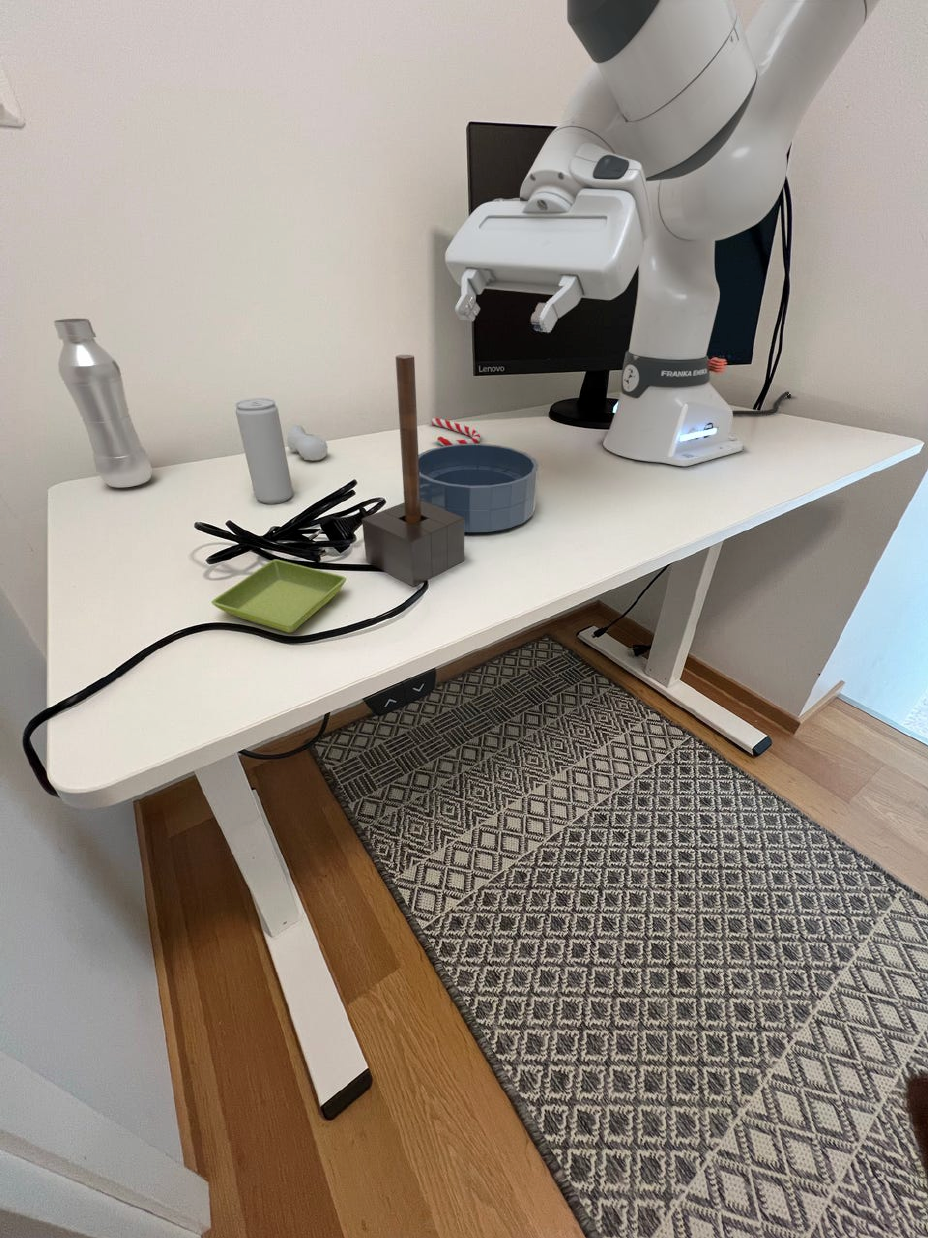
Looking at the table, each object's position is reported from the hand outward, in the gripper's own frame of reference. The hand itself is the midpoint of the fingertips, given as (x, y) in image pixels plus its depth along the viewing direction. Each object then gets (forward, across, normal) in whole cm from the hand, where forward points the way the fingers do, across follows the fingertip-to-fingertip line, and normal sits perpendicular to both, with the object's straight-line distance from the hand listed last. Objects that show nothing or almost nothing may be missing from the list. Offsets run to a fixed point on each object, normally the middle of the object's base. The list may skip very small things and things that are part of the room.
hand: (499, 321), depth 53 cm
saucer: (+34, -3, -3) cm, 34 cm away
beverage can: (+25, -26, +7) cm, 37 cm away
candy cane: (0, -28, +32) cm, 42 cm away
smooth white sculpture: (+15, -36, +16) cm, 43 cm away
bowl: (+14, -4, +17) cm, 22 cm away
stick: (+24, 0, +7) cm, 25 cm away
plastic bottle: (+32, -45, -1) cm, 55 cm away
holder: (+24, 0, +7) cm, 25 cm away
